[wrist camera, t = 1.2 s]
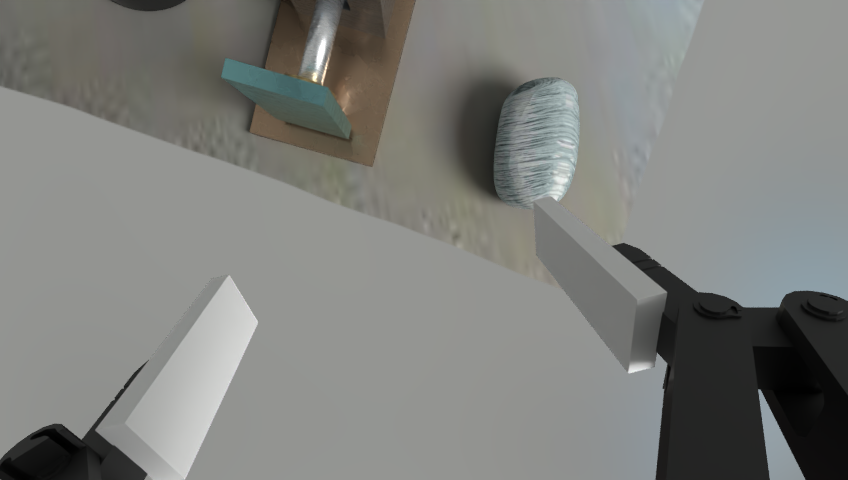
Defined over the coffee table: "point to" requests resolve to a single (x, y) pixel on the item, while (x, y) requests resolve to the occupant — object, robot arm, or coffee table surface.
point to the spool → (537, 142)
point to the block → (299, 80)
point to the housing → (342, 72)
